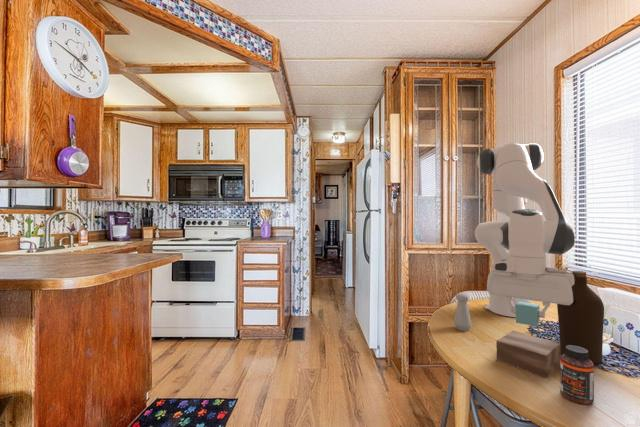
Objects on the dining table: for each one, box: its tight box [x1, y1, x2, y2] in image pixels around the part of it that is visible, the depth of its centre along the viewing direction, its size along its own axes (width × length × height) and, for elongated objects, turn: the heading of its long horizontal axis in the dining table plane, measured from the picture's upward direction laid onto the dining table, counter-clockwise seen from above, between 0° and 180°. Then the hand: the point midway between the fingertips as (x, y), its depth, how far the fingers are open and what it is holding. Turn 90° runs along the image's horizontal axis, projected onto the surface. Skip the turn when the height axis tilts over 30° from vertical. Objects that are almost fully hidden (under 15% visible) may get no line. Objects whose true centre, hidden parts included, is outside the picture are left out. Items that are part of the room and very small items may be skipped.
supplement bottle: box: [559, 345, 595, 405], centre depth 70 cm, size 6×6×11 cm
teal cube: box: [515, 301, 541, 327], centre depth 87 cm, size 5×5×5 cm
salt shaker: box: [453, 292, 472, 332], centre depth 112 cm, size 6×6×13 cm
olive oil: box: [556, 270, 605, 365], centre depth 90 cm, size 11×11×25 cm
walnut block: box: [496, 330, 562, 379], centre depth 87 cm, size 12×12×6 cm
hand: (527, 314), depth 87 cm, fingers closed on teal cube, 5 cm apart
